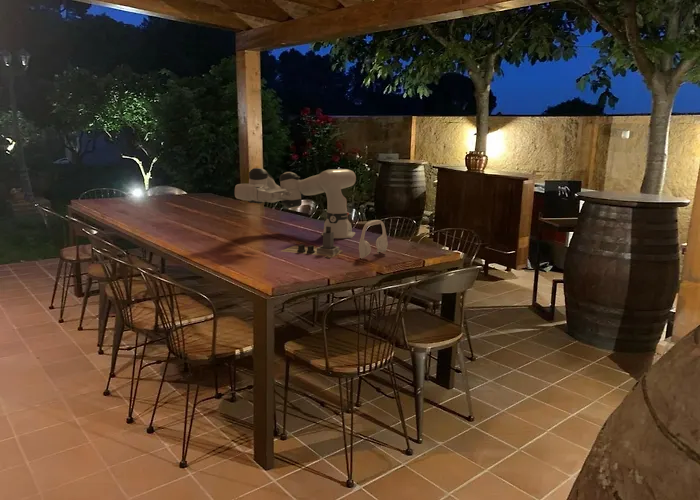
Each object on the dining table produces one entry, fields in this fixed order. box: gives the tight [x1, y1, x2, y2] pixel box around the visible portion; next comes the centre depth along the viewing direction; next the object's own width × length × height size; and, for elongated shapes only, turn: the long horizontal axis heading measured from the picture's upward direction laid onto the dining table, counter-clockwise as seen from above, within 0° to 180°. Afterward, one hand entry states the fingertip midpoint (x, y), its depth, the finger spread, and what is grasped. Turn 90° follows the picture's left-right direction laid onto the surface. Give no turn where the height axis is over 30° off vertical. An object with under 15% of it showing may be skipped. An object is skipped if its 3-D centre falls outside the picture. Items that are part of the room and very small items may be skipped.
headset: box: [358, 219, 389, 259], centre depth 273 cm, size 20×7×18 cm, turn 143°
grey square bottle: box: [322, 226, 335, 249], centre depth 274 cm, size 4×4×13 cm
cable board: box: [281, 244, 344, 259], centre depth 279 cm, size 16×27×5 cm, turn 69°
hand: (286, 194), depth 281 cm, fingers open, 8 cm apart
